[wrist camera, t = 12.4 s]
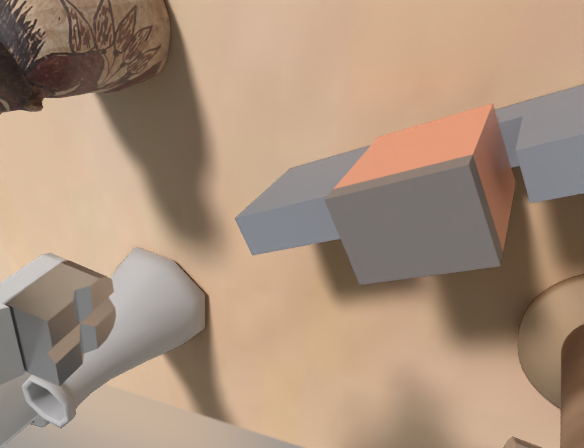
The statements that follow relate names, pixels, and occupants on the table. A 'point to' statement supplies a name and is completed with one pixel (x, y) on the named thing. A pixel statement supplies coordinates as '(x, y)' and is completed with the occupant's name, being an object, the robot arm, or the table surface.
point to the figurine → (78, 48)
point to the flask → (128, 331)
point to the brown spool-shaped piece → (557, 353)
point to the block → (427, 200)
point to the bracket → (328, 172)
